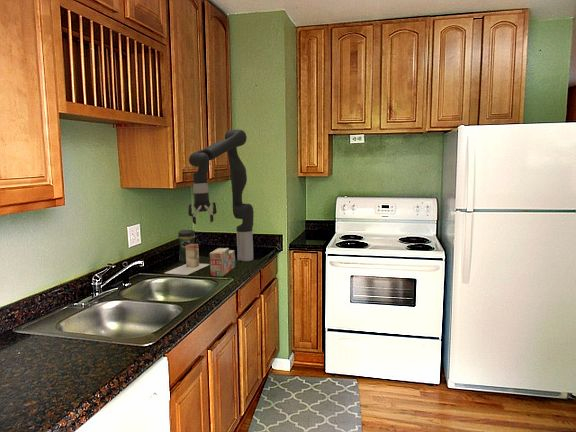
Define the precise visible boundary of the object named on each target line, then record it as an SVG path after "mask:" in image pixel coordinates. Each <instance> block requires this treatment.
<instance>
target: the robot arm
mask: <svg viewBox="0 0 576 432" xmlns="http://www.w3.org/2000/svg"><path fill="white" fill-rule="evenodd" d="M246 142H247V133H246V132H245V131H244V130H243V129H229V130H227V131H226V132H225V135H224V139H223V140H220V141H216V142H213V143H212V144H210V145H208V146H207V147H205V148H202V149H200V150H196V151H194V152H193V153H191V154H190V156H189V157H188V162H189V164H190V165H191V167H194V168H195V167H197V171H195V172H193V174H192V175H193V176H192V178H193V179H192V181H193V199H194V201H193V204H190V203H189V204H188V205H187V206H188V207H187V208H188V212H187V213H188V214H187V215H188V216H189V217H191V219H192V223H193V224H194V225H196V224H197V219H196V215H197V214H198V213H202V212H207V213H209V222H210V223H213V222H214V215H216V214H217V204H216V202H215V201H212V202H210V193H209V191H210V190H209V185H208V172H209V168H210V166H209V165H210V161H212V160H214V159H217V158H218V157H219V156H221V155H223V154H225V153H226V154H227V157H228V167H229V175H230V176H229V177H230V183H231V193H232V198H231V199H232V214H233V216H234V218H235V219H238V220H242V222H241V224H238V225H237V226H236V249H237V250H236V251H237V261H241V262H250V261H253V260H254V239H253V237H254V236H253V235H254V234H253V227H254V218H255V217H254V214H255V213H254V207H253V205H252V204H251V203H243V193H244V190H245V188H246V186H247V181H248V177H247V168H246V166H245V164H244V163H243V161H242V160H241V159H240V156H239V154H238V148H239V147H242V146H244V145H245V144H246ZM210 207H212V210H211V209H210ZM193 208H194V210H193V211H192V209H193ZM192 212H193V213H192Z"/></svg>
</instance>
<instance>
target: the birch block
mask: <svg viewBox="0 0 576 432" xmlns="http://www.w3.org/2000/svg"><path fill="white" fill-rule="evenodd" d="M185 247H186V261H185V262H186V263H185V264H186V266H187V267H192V268H195V267H197V266H199V263H200V255H199V254H200V252H199V244H198V243H195V244H189V245H186V246H185Z"/></svg>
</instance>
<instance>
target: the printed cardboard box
mask: <svg viewBox="0 0 576 432" xmlns="http://www.w3.org/2000/svg"><path fill="white" fill-rule="evenodd" d="M209 264H210V265H209V266H210V267H209V268H210V275H211V277H221V278H222V277H223V276H226V274H228V273H229V272H230V271H231V270H233V269H234V268H235V267H236V254H235V250H234V249H233V250H232V249H230V248H229V247H225V248H224V247H218V248H216V249H214V250H213V251H211V252H209Z"/></svg>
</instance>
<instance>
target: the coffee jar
mask: <svg viewBox="0 0 576 432" xmlns="http://www.w3.org/2000/svg"><path fill="white" fill-rule="evenodd" d="M177 237H178V241H179V261H180V262H186V247H185V246H186V245H189V244H196V242H195V240H196V233H195V230H194V229H181V230H179V231H178V235H177Z"/></svg>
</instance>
